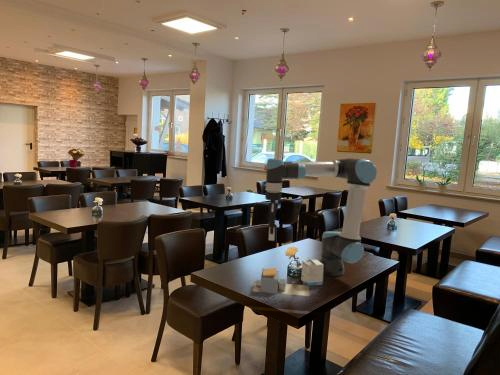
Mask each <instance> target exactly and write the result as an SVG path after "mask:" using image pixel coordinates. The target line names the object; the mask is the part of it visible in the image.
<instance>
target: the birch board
mask: <svg viewBox="0 0 500 375" xmlns="http://www.w3.org/2000/svg"><path fill="white" fill-rule="evenodd" d="M256 281H257V280H255V281H254V282H253V286H252V289H251V292H255V293H256V292H257V293H261V292H260V290H261V287H256ZM266 293H267V294H273V293H272V292H265V294H266ZM276 294H279V295H280V294H281V295H290V296H291V295H294V296H302V297H303V296H305V297H311V296H310V288H309V286H308V285H307V284H306V285H305V284H291V283H286V286H285V291H279V288H278V292H277V293H276Z"/></svg>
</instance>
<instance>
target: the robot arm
mask: <svg viewBox="0 0 500 375" xmlns="http://www.w3.org/2000/svg"><path fill="white" fill-rule="evenodd" d="M265 169H266V172H265V173H266V174H265V175H266V177H265V178H266V180H265V184H264V187H265V197H264V198H265V200H267V201H270V202H269V203H268V213H269V225H267V228H268V241H275V233H276V232H275V231H276V229H275V228H276V227H277V224H276V213H277V208H278V203H277V202H276V201H281V200H282V190H283V180H287V179H288V180H301V179H304V178H305V177H312V176H313V177H321V176H324V177H326V176H327V177H330V178H339V179H344V180H346V185H347V186H348V193H347V200H346V206H345V210H344V216H343V222H342V223H343V225H342V231H336V230H333V231H332V230H331V231H327V230H326V231H324V232H323V233H322V236H321V254H320V259H319V260H318V261H319V262H321V263H322V264H324V267H323V276H325V275H326V276H329V277H330V276H331V277H340V276H343V275H344V274H345V266H344V262H345V263H348V264H355V263H357V262H359V261H360V260H361V259H362V258H363V255H364V253H365V249H364V246H363V245H362V243H361V242H362V238H361V236H360V229H361V224H362V223H361V222H362V217H363V210H364V204H365V199H366V192H367V189H369V188H371V187H370V186H371V183H373V182H374V180H376V177H377V167H376V165H375V164H374V162H372V161H371V160H368V159H365V158H362V159H361V158H351V157H349V158H340V159H331V160H330V161H284V160H283V158H282V159H281V158H268V159H267V162H266V168H265Z"/></svg>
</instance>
